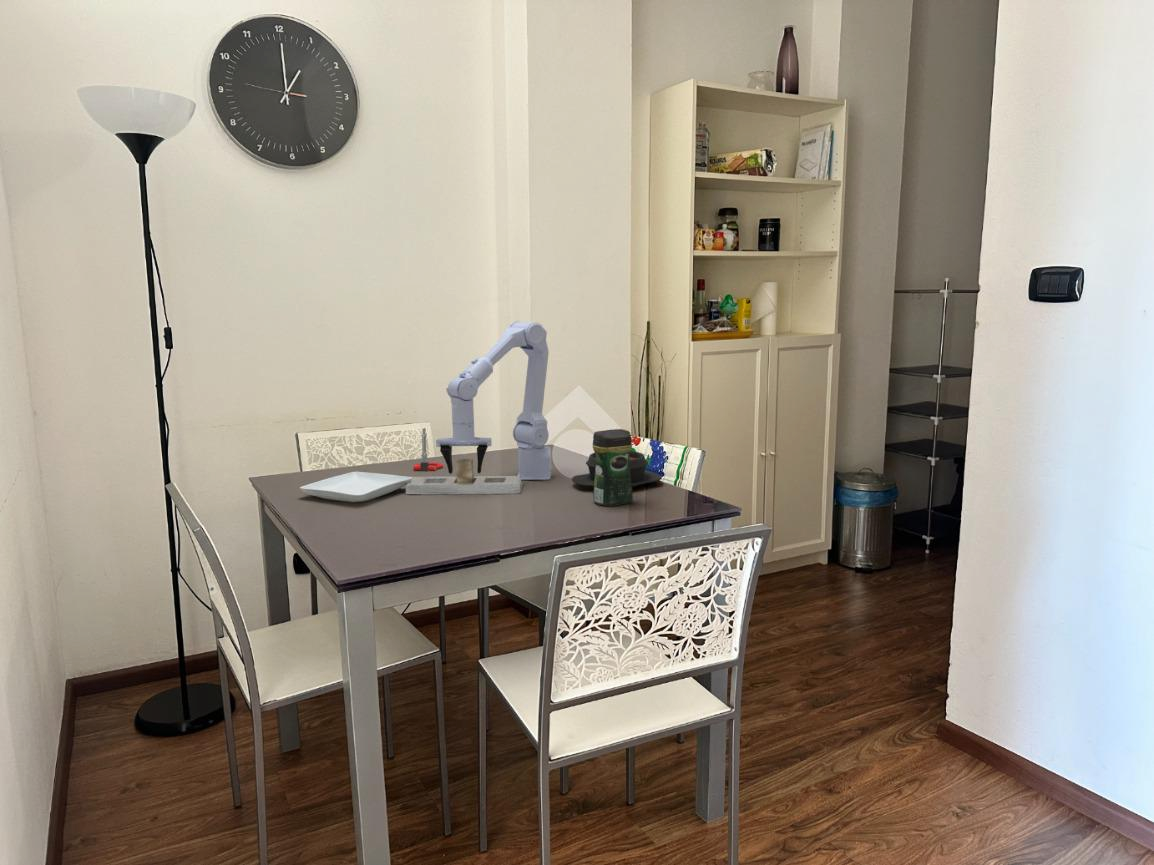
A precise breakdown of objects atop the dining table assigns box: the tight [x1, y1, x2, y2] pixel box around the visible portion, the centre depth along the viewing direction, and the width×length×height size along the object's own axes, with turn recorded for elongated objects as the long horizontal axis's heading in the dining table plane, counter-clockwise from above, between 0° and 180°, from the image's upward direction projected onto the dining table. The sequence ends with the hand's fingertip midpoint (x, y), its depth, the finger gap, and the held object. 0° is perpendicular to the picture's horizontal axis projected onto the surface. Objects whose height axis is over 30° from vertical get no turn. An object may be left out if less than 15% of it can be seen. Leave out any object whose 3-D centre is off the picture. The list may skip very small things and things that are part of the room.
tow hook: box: [413, 427, 444, 472], centre depth 248 cm, size 8×13×9 cm
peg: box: [455, 458, 475, 483], centre depth 221 cm, size 4×4×8 cm
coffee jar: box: [592, 428, 634, 507], centre depth 205 cm, size 10×8×19 cm
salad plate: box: [299, 471, 413, 503], centre depth 217 cm, size 21×21×3 cm
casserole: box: [571, 450, 663, 488], centre depth 224 cm, size 25×19×8 cm
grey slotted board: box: [405, 475, 523, 495], centre depth 221 cm, size 30×10×2 cm, turn 90°
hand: (465, 472), depth 220 cm, fingers open, 7 cm apart
